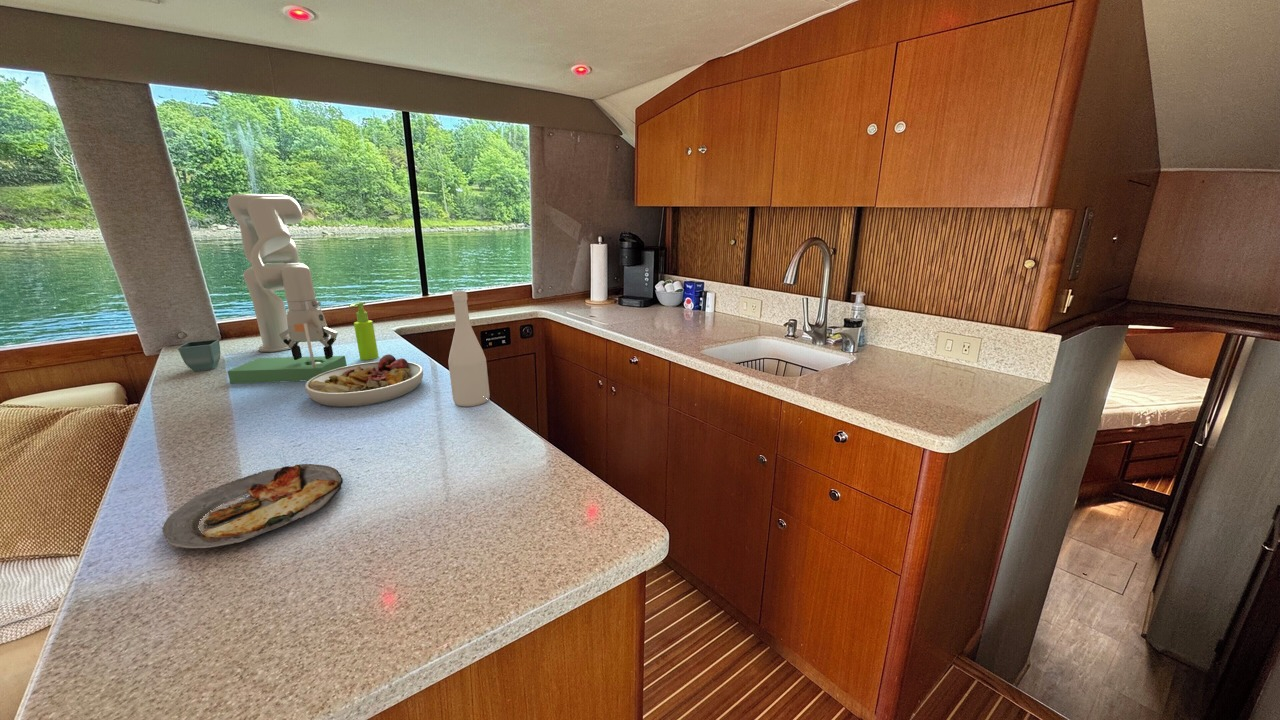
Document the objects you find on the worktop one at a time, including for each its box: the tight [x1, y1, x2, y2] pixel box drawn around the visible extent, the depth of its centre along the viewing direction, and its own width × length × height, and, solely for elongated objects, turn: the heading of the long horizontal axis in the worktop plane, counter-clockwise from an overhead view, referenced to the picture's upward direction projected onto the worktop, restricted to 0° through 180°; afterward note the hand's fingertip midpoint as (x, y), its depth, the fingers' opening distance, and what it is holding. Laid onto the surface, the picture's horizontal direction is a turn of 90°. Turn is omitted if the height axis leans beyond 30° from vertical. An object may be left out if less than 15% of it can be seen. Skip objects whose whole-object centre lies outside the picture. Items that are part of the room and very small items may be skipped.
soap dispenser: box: [348, 301, 379, 361], centre depth 175 cm, size 6×7×20 cm
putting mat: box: [227, 324, 348, 384], centre depth 158 cm, size 14×28×18 cm, turn 93°
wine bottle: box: [447, 290, 491, 408], centre depth 131 cm, size 10×10×30 cm
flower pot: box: [177, 339, 221, 372], centre depth 167 cm, size 9×9×9 cm
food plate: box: [161, 463, 344, 549], centre depth 86 cm, size 25×23×4 cm
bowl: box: [304, 354, 424, 408], centre depth 144 cm, size 30×30×8 cm
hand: (313, 358), depth 159 cm, fingers open, 9 cm apart
